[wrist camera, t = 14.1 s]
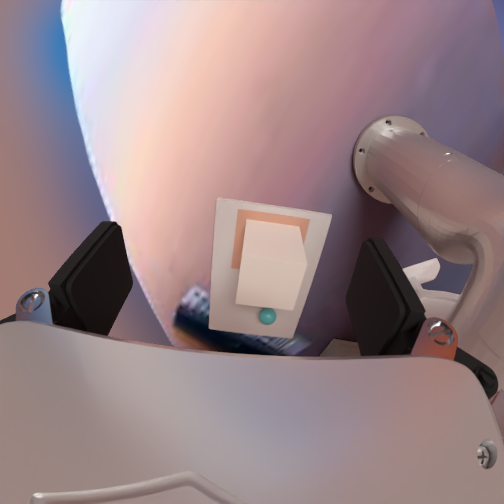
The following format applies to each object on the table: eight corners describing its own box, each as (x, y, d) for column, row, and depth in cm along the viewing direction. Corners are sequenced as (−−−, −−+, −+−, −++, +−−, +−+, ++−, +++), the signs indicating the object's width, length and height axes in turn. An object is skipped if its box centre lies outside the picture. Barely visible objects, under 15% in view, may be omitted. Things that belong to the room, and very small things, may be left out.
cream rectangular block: (299, 226, 39) (307, 264, 31) (288, 268, 43) (292, 310, 35) (246, 219, 39) (241, 255, 31) (240, 262, 43) (235, 303, 35)
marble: (277, 304, 47) (278, 317, 45) (274, 316, 49) (274, 329, 46) (260, 302, 47) (259, 315, 45) (257, 314, 49) (257, 327, 46)
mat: (331, 214, 38) (332, 216, 38) (291, 336, 53) (292, 338, 52) (217, 197, 38) (216, 199, 37) (209, 326, 52) (208, 329, 51)
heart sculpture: (444, 254, 41) (495, 326, 26) (442, 276, 44) (486, 347, 29) (368, 278, 44) (402, 365, 29) (370, 299, 47) (399, 383, 32)
